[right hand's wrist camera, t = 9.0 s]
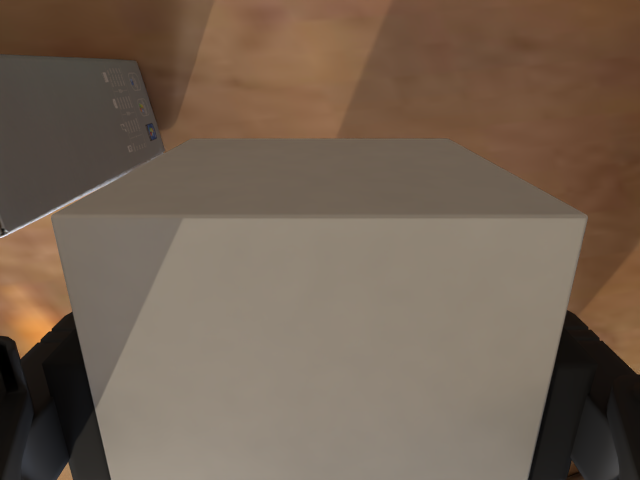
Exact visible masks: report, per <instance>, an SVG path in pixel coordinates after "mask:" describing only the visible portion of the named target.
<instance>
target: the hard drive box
mask: <svg viewBox="0 0 640 480" xmlns="http://www.w3.org/2000/svg"><path fill="white" fill-rule="evenodd" d="M164 151H165V149H164V146H163V143H162V139H161V136H160V133H159V129H158V126H157V123H156V120H155V117H154V113H153V110H152V107H151V104H150V101H149V98H148V95H147V91H146V88H145V85H144V82H143V79H142V76H141V73H140V70H139V67H138V64H137V62H136V61H134V60H118V59H98V58H74V57H49V56H26V55H4V54H0V238H2V237H4V236H6V235H8V234H10V233H13V232H14V231H16V230H18V229H20V228H22V227H24V226H26V225H28V224H30V223H32V222H34V221H36V220H38V219H40V218H42V217H44V216H46V215H48V214H50V213H52V212H54V211H56V210H58V209H60V208H61V207H63V206H65V205H67V204H69V203H71V202H73V201H75V200H77V199H79V198H81V197H83V196H85V195H87V194H89V193H91V192H93V191H95V190H97V189H99V188H101V187H103V186H105V185H107V184H109V183H111V182H113V181H115V180H117V179H118V178H120V177H122V176H124V175H126V174H128V173H129V172H131V171H133V170H135V169H137V168H139V167H140V166H142V165H144V164H146V163H148V162H150V161H151V160H153V159H155V158H157V157H159V156H160V155H162V154H163V152H164Z"/></svg>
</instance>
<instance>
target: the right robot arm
mask: <svg viewBox="0 0 640 480" xmlns="http://www.w3.org/2000/svg"><path fill="white" fill-rule="evenodd" d="M571 461H573V462H574V464H575V465H576V467H577V469H578V470H579V472H580V473H578V474H575V475H572V476H569V477H567V476H568V472H569V469H570V465H571ZM68 462H69V466H70V470H71V473H72V477H73V480H111V477H110V472H109V468H108V463H107V459H106V455H105V450H104V446H103V442H102V437H101V433H100V429H99V424H98V420H97V416H96V411H95V407H94V403H93V398H92V394H91V390H90V385H89V381H88V377H87V372H86V368H85V364H84V359H83V355H82V351H81V346H80V342H79V337H78V333H77V329H76V324H75V320H74V316H73V312H71V313H69V314H68V315H66V316H65V317H64V318H62V319H61V320H60V321H59V322H58V323H57V324H56V325H55V326H54V327H53V328H52V331H49V332H48V333H47V334H46V335H45V336H44V337H43V338H42V339H41V342H40V343H37V344H36V345H35V346H34V347H33V348H32V349H31V350H30V351H29V352H28V353H27V354H26V355H24V356H23V357H22V358H21V359H20V357H19V353H18V350H17V346H16V343H15V341H14V340H12V339H11V338H9V337H6V336H0V480H57V478H58V477H59V475H60V474H61V472H62V471H63V469H64V467H65V466H66V464H67V463H68ZM528 480H640V375H638V374H636V373H635V372H634V371H633V370H632V369H631V368H630V367H629V366H628V365H627V364H626V363H625V362H624V361H623V360H622V359H621V358H620V357H619V356H617V355H616V354H615V353H614V352H613V351H612V350H611V349H610V348H609V347H608V346H607V345H606V344H605V343H604V342H603V341H600V340H599V337H598V336H597V335H596V334H595V333H594V332H593V331H592V330H588V327H587V326H586V325H585V324H584V323H583V322H582V321H581V320H580V319H579V318H578V317H577V316H576V315H575V314H573V313H572V312H570V311H568V310H567V311H566V316H565V320H564V324H563V329H562V333H561V337H560V342H559V346H558V350H557V355H556V359H555V364H554V368H553V372H552V377H551V381H550V385H549V390H548V394H547V398H546V403H545V407H544V412H543V416H542V420H541V425H540V429H539V433H538V438H537V442H536V446H535V451H534V455H533V460H532V464H531V468H530V473H529V477H528Z"/></svg>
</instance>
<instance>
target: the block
mask: <svg viewBox="0 0 640 480" xmlns="http://www.w3.org/2000/svg"><path fill="white" fill-rule="evenodd" d="M51 220H52V225H53V229H54V233H55V238H56V242H57V246H58V251H59V255H60V259H61V264H62V268H63V272H64V277H65V281H66V285H67V290H68V294H69V298H70V303H71V307H72V311H73V316H74V320H75V324H76V329H77V333H78V337H79V342H80V346H81V351H82V355H83V359H84V364H85V368H86V372H87V377H88V381H89V385H90V390H91V394H92V398H93V403H94V407H95V411H96V416H97V420H98V424H99V429H100V433H101V437H102V442H103V446H104V450H105V455H106V459H107V463H108V468H109V472H110V477H111V480H528V477H529V473H530V468H531V464H532V460H533V455H534V451H535V446H536V442H537V438H538V433H539V429H540V425H541V420H542V416H543V412H544V407H545V403H546V398H547V394H548V390H549V385H550V381H551V377H552V372H553V368H554V364H555V359H556V355H557V350H558V346H559V342H560V337H561V333H562V329H563V324H564V320H565V316H566V311H567V307H568V302H569V298H570V294H571V289H572V285H573V281H574V276H575V272H576V268H577V263H578V259H579V254H580V250H581V246H582V241H583V237H584V233H585V228H586V224H587V220H588V217H587V215H586V214H584V213H582V212H581V211H579V210H577V209H575V208H573V207H572V206H570V205H568V204H566V203H564V202H562V201H561V200H559V199H557V198H555V197H553V196H552V195H550V194H548V193H546V192H544V191H542V190H541V189H539V188H537V187H535V186H533V185H532V184H530V183H528V182H526V181H524V180H522V179H521V178H519V177H517V176H515V175H513V174H512V173H510V172H508V171H506V170H504V169H502V168H501V167H499V166H497V165H495V164H493V163H492V162H490V161H488V160H486V159H484V158H482V157H481V156H479V155H477V154H475V153H473V152H472V151H470V150H468V149H466V148H464V147H462V146H461V145H459V144H457V143H455V142H453V141H452V140H450V139H190V140H188V141H186V142H184V143H182V144H181V145H179V146H177V147H175V148H173V149H171V150H170V151H168V152H166V153H164V154H162V155H160V156H159V157H157V158H155V159H153V160H151V161H150V162H148V163H146V164H144V165H142V166H140V167H139V168H137V169H135V170H133V171H131V172H129V173H128V174H126V175H124V176H122V177H120V178H118V179H117V180H115V181H113V182H111V183H109V184H108V185H106V186H104V187H102V188H100V189H98V190H97V191H95V192H93V193H91V194H89V195H87V196H86V197H84V198H82V199H80V200H78V201H77V202H75V203H73V204H71V205H69V206H67V207H66V208H64V209H62V210H60V211H58V212H56V213H55V214H53V215H52V216H51Z"/></svg>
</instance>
